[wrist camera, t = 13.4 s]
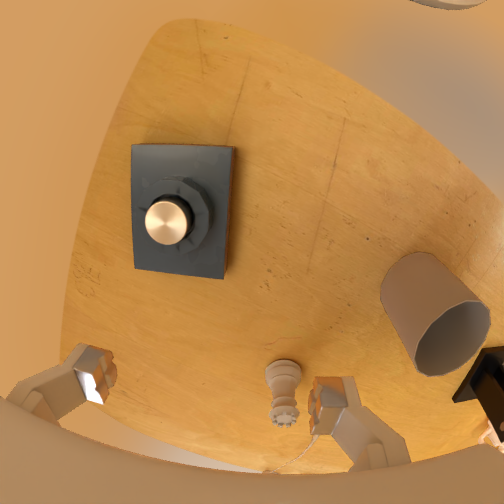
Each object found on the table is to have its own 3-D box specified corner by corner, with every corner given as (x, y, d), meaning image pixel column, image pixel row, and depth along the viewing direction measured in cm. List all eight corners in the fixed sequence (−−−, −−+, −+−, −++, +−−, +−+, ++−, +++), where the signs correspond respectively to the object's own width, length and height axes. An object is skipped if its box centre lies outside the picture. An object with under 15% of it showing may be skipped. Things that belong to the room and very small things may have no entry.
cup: (425, 236, 27) (477, 280, 18) (454, 284, 29) (498, 333, 20) (366, 288, 30) (397, 349, 21) (401, 330, 32) (432, 388, 22)
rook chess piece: (277, 352, 34) (277, 404, 26) (308, 365, 34) (314, 416, 27) (258, 374, 35) (254, 425, 28) (288, 386, 36) (289, 435, 28)
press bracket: (482, 348, 33) (524, 410, 20) (514, 344, 33) (553, 397, 20) (451, 398, 37) (480, 459, 24) (485, 391, 37) (514, 445, 24)
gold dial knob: (152, 195, 24) (144, 199, 22) (193, 197, 24) (187, 202, 22) (152, 235, 25) (145, 242, 24) (192, 239, 25) (186, 247, 23)
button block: (141, 143, 26) (122, 145, 22) (235, 146, 25) (229, 148, 22) (142, 259, 30) (127, 276, 26) (226, 269, 30) (220, 289, 26)
